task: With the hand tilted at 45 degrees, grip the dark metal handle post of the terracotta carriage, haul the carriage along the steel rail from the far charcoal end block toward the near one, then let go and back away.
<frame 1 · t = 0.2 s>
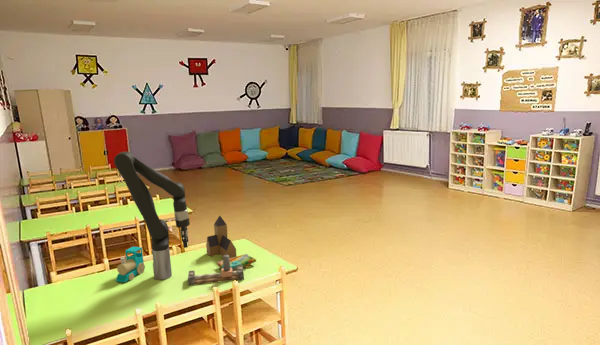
hand: (186, 244, 233), 18 cm above the table, fingers open, 8 cm apart
toy train: (130, 277, 235), on the table
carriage: (226, 265, 229), point 7 cm above the table, slide at 6.0 cm
toy building blocks: (221, 256, 261), on the table
puzzle game: (237, 267, 245), on the table
rail bed: (216, 278, 229), on the table
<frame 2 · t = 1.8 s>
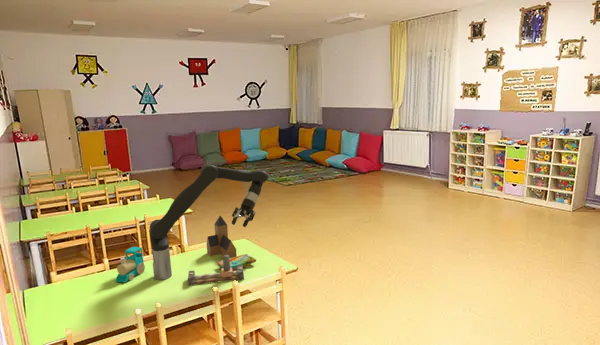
hand: (238, 225, 234), 28 cm above the table, fingers open, 8 cm apart
nothing on the table moved.
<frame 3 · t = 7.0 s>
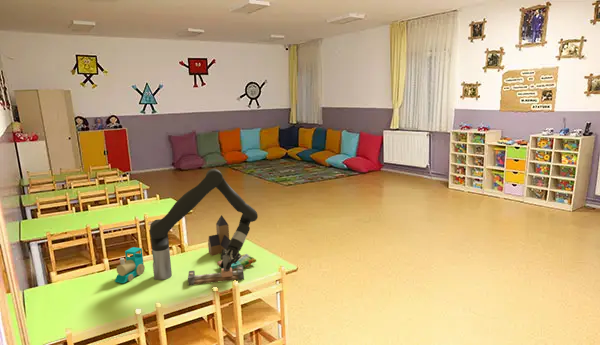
hand: (224, 268, 227), 7 cm above the table, fingers closed on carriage, 3 cm apart
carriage: (226, 265, 229), point 7 cm above the table, slide at 6.0 cm, touching gripper
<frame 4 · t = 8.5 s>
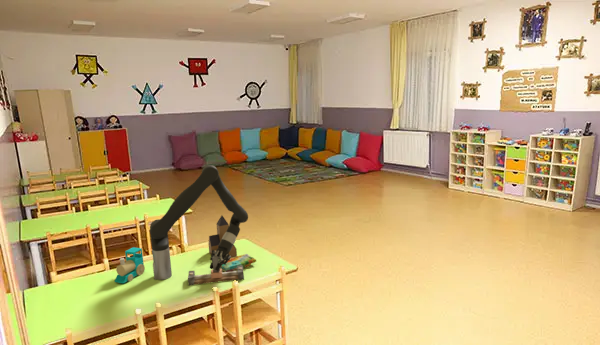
hand: (213, 269, 226), 7 cm above the table, fingers closed on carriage, 3 cm apart
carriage: (216, 266, 228), point 7 cm above the table, slide at 0.3 cm, touching gripper
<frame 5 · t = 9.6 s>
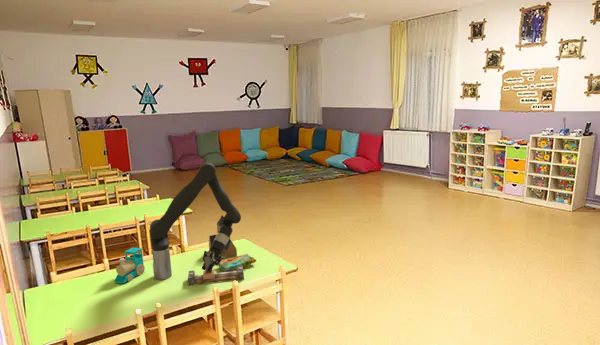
hand: (205, 270, 225), 7 cm above the table, fingers closed on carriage, 3 cm apart
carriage: (208, 267, 227), point 7 cm above the table, slide at -4.0 cm, touching gripper
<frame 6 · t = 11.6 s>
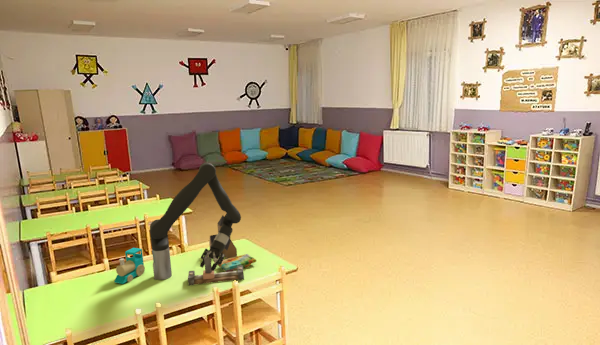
hand: (206, 268, 226), 7 cm above the table, fingers open, 8 cm apart
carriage: (208, 267, 227), point 7 cm above the table, slide at -4.0 cm
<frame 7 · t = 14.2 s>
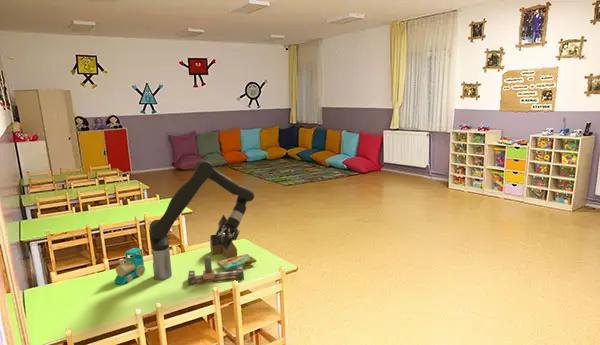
hand: (222, 244, 234), 17 cm above the table, fingers open, 8 cm apart
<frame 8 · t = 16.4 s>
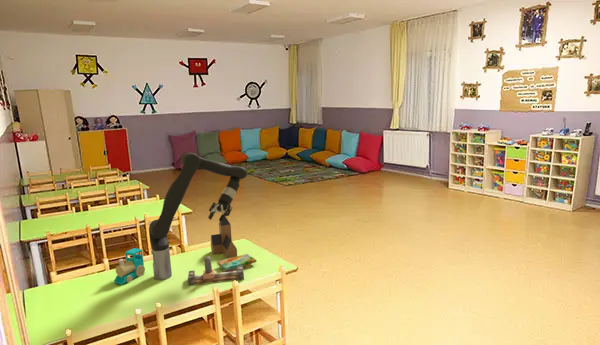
hand: (214, 220, 235), 31 cm above the table, fingers open, 8 cm apart
at the end: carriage slide at -4.0 cm; the gripper is holding nothing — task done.
